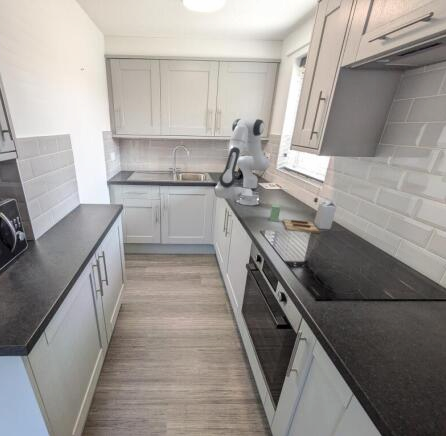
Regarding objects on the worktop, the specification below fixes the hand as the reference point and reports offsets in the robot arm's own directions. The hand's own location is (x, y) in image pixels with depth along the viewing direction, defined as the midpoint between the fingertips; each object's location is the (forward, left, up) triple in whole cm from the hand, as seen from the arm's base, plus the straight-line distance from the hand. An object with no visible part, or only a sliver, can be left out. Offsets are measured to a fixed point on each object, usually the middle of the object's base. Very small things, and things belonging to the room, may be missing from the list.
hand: (258, 195), depth 156 cm
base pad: (+8, +27, -16) cm, 33 cm away
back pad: (0, +12, -16) cm, 20 cm away
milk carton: (+4, +41, -16) cm, 45 cm away
